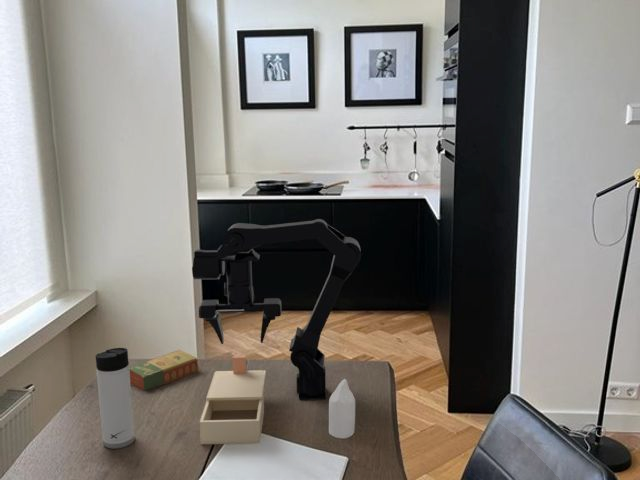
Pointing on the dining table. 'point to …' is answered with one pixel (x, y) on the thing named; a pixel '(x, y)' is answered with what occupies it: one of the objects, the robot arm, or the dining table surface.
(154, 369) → the carton
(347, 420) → the white pointed cylinder
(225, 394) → the lid panel
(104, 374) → the travel mug
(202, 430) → the kraft box
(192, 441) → the dining table surface
